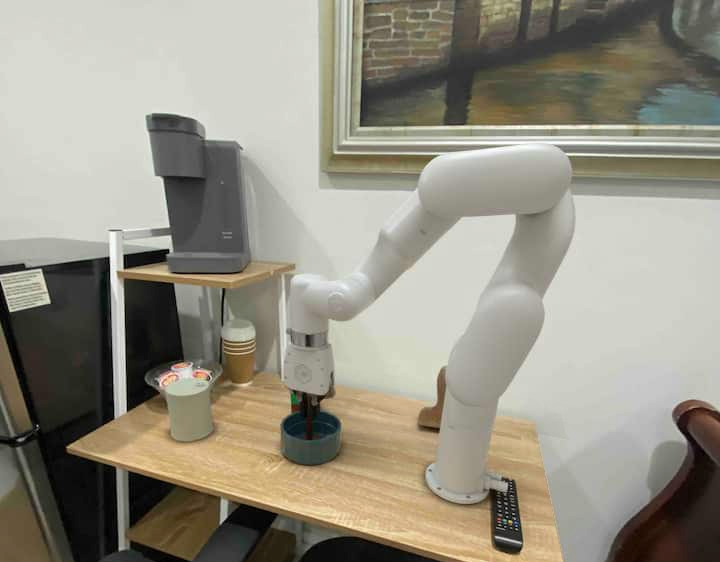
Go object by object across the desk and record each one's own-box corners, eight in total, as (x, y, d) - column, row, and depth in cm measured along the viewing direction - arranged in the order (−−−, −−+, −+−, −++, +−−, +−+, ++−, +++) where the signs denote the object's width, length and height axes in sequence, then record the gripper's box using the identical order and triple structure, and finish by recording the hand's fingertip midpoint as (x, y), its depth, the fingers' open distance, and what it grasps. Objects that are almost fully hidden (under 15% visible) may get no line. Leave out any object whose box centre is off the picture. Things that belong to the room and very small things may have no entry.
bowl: (349, 440, 91) (350, 417, 89) (324, 472, 79) (324, 447, 77) (299, 426, 95) (299, 404, 93) (269, 456, 84) (268, 431, 81)
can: (213, 438, 89) (209, 391, 84) (169, 444, 85) (162, 395, 81) (213, 418, 97) (209, 374, 92) (172, 423, 94) (166, 377, 89)
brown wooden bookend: (473, 414, 105) (482, 363, 100) (479, 438, 94) (490, 382, 89) (417, 408, 107) (423, 357, 102) (416, 430, 96) (423, 375, 91)
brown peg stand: (322, 440, 88) (323, 392, 84) (313, 451, 84) (314, 400, 80) (305, 436, 90) (305, 388, 85) (295, 446, 86) (295, 396, 81)
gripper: (266, 336, 77) (269, 417, 84) (337, 349, 72) (335, 434, 79) (286, 326, 84) (287, 402, 90) (352, 338, 79) (349, 417, 85)
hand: (309, 416), depth 85 cm, fingers closed on brown peg stand, 1 cm apart
